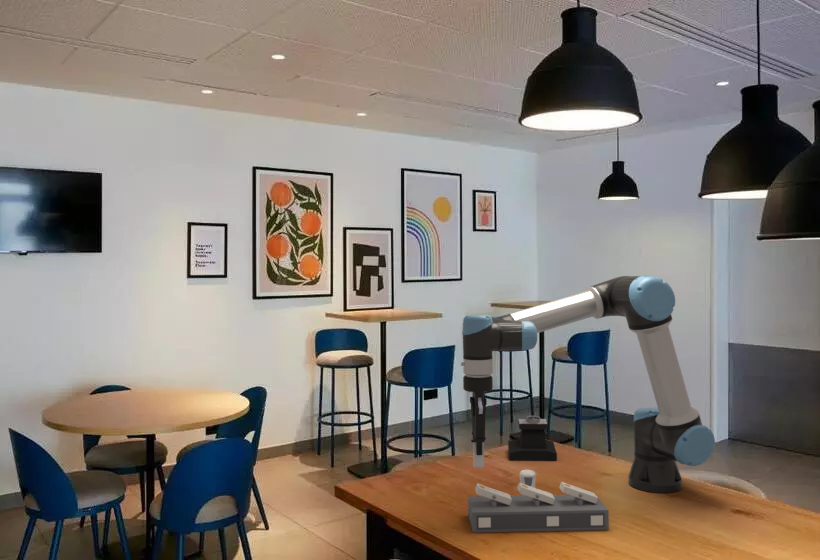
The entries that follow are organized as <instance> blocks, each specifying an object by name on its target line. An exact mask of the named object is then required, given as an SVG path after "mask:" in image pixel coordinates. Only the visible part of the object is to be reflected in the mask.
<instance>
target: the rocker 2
mask: <svg viewBox="0 0 820 560" xmlns="http://www.w3.org/2000/svg"><path fill="white" fill-rule="evenodd" d="M559 489H560V491H561V492H562V493H563V494H565V495H572V496H575V497H578V498H580V499H583V500H586V501H589V502H592V503H595V504H596V502H597V499H598V498H599V497H598V496H597V494H596V495H595V493H594V492H593V491H589V490H587V489H584V488H582V487H578V486H576V485H572V484H569V483H566V482H564V481H561V482H560V484H559Z"/></svg>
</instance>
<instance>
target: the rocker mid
mask: <svg viewBox="0 0 820 560" xmlns="http://www.w3.org/2000/svg"><path fill="white" fill-rule="evenodd" d="M516 489H517V491H518V492H519V495H521V494H523V495H526V496H529V497H532V498H535V499H538V500H541V501H544V502H547V503H550V504H553V503H554V500H555V498H554V496H553V495H554V494H553V493H551V492H549V491H545V490H543V489H539V488H536V487H535V488H534V487H531V486H528V485H525V484H522V483H520V482H518V484H517V487H516Z"/></svg>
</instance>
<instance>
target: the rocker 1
mask: <svg viewBox="0 0 820 560" xmlns="http://www.w3.org/2000/svg"><path fill="white" fill-rule="evenodd" d="M474 490H475V493H476V495H477V496H484V497H487V498H490V499H493V500H495V501H498V502H501V503H504V504H507V505H510V504H511V501H512V499H511V496H512V495H510V493H507V492H503V491H501V490H498V489H496V488H495V489H494V488H492V487H489V486H487V485H483V484H481V483H478V482H477V483H476V485H475V487H474Z"/></svg>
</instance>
